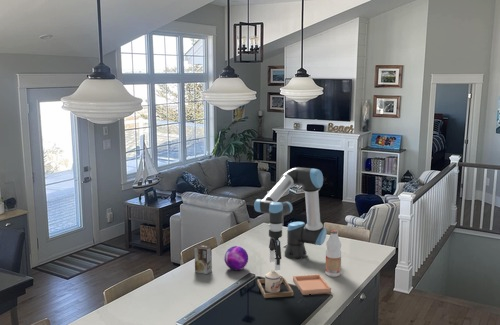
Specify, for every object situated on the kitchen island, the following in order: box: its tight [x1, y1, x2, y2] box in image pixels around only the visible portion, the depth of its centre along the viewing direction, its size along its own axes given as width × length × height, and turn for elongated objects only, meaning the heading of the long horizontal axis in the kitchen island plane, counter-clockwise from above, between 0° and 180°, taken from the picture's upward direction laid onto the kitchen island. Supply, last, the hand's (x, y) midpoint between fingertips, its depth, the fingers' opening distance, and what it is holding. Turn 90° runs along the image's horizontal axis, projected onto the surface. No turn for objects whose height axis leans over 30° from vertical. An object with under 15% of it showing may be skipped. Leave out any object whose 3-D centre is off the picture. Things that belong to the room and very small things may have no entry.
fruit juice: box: [324, 229, 342, 277], centre depth 310 cm, size 9×9×28 cm
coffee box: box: [193, 244, 213, 275], centre depth 314 cm, size 9×6×16 cm
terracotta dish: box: [292, 274, 332, 296], centre depth 293 cm, size 21×17×3 cm
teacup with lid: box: [264, 269, 284, 293], centre depth 288 cm, size 12×9×12 cm
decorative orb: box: [224, 245, 249, 271], centre depth 318 cm, size 15×15×15 cm
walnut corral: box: [256, 277, 294, 299], centre depth 289 cm, size 21×17×2 cm
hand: (274, 265), depth 286 cm, fingers open, 13 cm apart
